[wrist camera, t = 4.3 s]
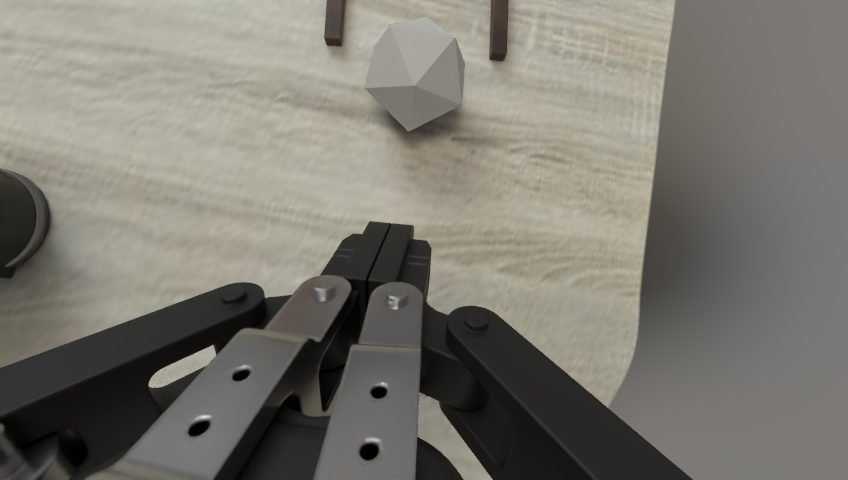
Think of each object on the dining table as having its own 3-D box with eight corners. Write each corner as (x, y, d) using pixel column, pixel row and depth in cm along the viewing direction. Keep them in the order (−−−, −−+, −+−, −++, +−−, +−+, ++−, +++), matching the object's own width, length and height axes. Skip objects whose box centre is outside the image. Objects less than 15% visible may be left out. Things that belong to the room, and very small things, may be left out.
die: (466, 68, 38) (427, -30, 30) (490, 124, 34) (451, 25, 25) (394, 106, 41) (341, 24, 33) (408, 164, 36) (348, 84, 28)
